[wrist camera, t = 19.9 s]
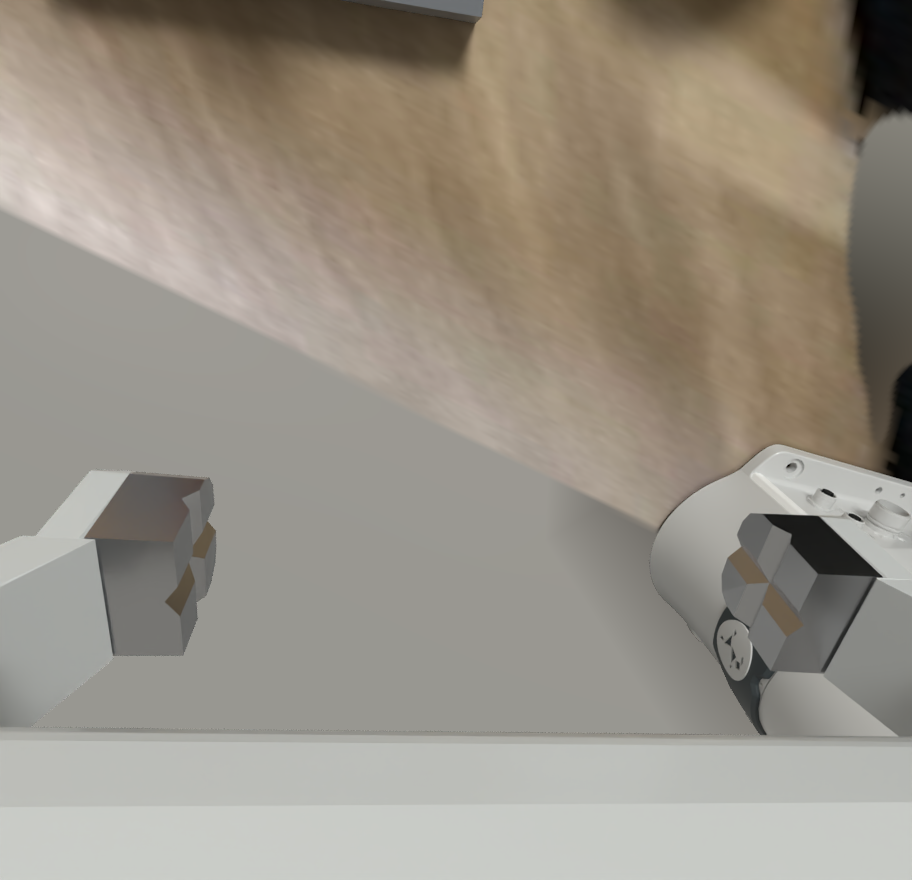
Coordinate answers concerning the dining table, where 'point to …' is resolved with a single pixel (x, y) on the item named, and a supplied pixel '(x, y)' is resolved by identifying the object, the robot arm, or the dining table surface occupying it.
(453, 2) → the frame
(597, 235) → the dining table surface
